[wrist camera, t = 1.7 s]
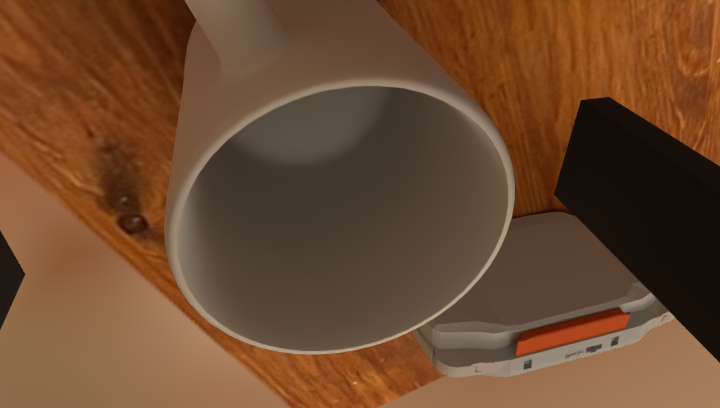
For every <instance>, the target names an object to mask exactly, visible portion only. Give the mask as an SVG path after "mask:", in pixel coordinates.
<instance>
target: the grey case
mask: <svg viewBox="0 0 720 408" xmlns="http://www.w3.org/2000/svg"><path fill="white" fill-rule="evenodd" d="M674 318H675V317H674V316H673V315H672V314H671V313H670V312H669V311H668V310H667V309H666V308H665V307H664V306H663V305H662V304H661V302H660V301H659V300H658V299H657V298H656V297H655V296H654V295H653V294H652V293H651V292H650V291H649V290H648V289H647V288H646V287H645V286H644V285H643V284H642V283H641V282H640V281H639V280H638V279H637V278H636V277H635V276H634V275H633V274H632V273H631V272H630V271H629V270H628V269H627V268H626V267H625V266H624V265H623V264H622V263H621V262H620V261H619V260H618V259H617V258H616V257H615V256H614V255H613V254H612V253H611V252H610V251H609V250H608V249H607V248H606V247H605V246H604V245H603V244H602V243H601V242H600V241H599V240H598V238H597V237H596V236H595V235H594V234H593V233H592V232H591V231H590V230H589V229H588V228H587V227H586V226H585V225H584V224H583V223H582V222H581V221H580V220H579V219H578V218H577V217H576V216H573V215H569V214H567V213H564V212H549V213H541V214H535V215H529V216H523V217H518V218H513V219H511V221H510V224H509V228H508V231H507V234H506V236H505V238H504V241H503V243H502V245H501V247H500V249H499V251H498V253H497V255H496V256H495V258H494V260H493V261H492V263H491V264H490V266H489V267H488V269H487V270H486V271H485V272H484V274H483V275H482V276H481V278H480V279H479V280H478V281H477V282H476V283H475V284H474V285H473V286H472V288H471V289H470V290H469V291H468V292H467V293H466V294H465V295H463V296H462V297H461V298H460V299H459V300H458V301H457V302H456V303H454V304H453V305H452V306H451V307H449V308H448V309H447V310H445V311H444V312H442V313H441V314H440V315H438V316H437V317H435V318H433V319H432V320H430V321H429V322H427V323H425V324H424V325H422V326H420V327H418V328H416V329H414V330H412V331H411V332H412V334H413V336H414V337H415V339H416V340H417V342H418V343H419V345H420V346H421V348H422V349H423V351H424V352H425V354H426V355H427V357H428V358H429V360H430V361H432V363H433V364H434V366H435V367H436V369H437V370H438V371H439V372H440V373H442V374H443V375H446V376H449V377H465V376H473V375H478V374H481V375H489V376H503V377H510V376H514V375H518V374H522V373H525V372H529V371H533V370H536V369H541V368H544V367H548V366H552V365H555V364H559V363H563V362H567V361H571V360H574V359H578V358H582V357H586V356H589V355H593V354H597V353H601V352H604V351H608V350H611V349H615V348H619V347H623V346H627V345H630V344H633V343H636V342H638V341H639V340H640V339H641V338H642V336H644V335H645V333H646V332H647V331H648V330H649V329H650V328H653V327H656V326H659V325H661V324H664V323H666V322H668V321H670V320H672V319H674Z"/></svg>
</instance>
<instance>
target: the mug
mask: <svg viewBox="0 0 720 408" xmlns="http://www.w3.org/2000/svg"><path fill="white" fill-rule="evenodd" d="M185 2H186V4H187V5H188V7H189V9H190V10H191V12H192V14H193V15H194V17H195V18H196V22H195V24H194V27H193V29H192V31H191V35H190V38H189V42H188V45H187V51H186V59H185V67H184V81H183V90H182V97H181V104H180V111H179V118H178V124H177V131H176V138H175V145H174V152H173V159H172V166H171V173H170V179H169V186H168V194H167V201H166V209H165V218H164V229H165V248H166V252H167V257H168V261H169V266H170V268H171V271H172V273H173V275H174V278H175V280H176V282H177V285H178V287H179V288H180V290H181V291H182V293H183V294H184V296H185V297H186V299H187V301H188V302H189V303H190V304H191V305H192V306H193V307H194V308H195V310H196V311H197V312H198V313H199V314H200V315H201V316H203V317H204V318H205V319H206V320H207V321H209V322H210V323H211V324H212V325H214V326H215V327H217V328H218V329H220V330H222V331H223V332H225V333H227V334H228V335H230V336H232V337H234V338H237V339H239V340H241V341H243V342H245V343H248V344H251V345H255V346H258V347H261V348H264V349H269V350H274V351H279V352H286V353H295V354H328V353H339V352H345V351H352V350H357V349H361V348H365V347H369V346H373V345H376V344H379V343H383V342H386V341H389V340H391V339H394V338H396V337H399V336H401V335H403V334H406V333H408V332H410V331H412V330H414V329H416V328H418V327H420V326H422V325H424V324H425V323H427V322H429V321H430V320H432V319H433V318H435V317H437V316H438V315H440V314H441V313H442V312H444V311H445V310H447V309H448V308H449V307H451V306H452V305H453V304H454V303H456V302H457V301H458V300H459V299H460V298H461V297H462V296H463V295H465V294H466V293H467V292H468V291H469V290H470V289H471V288H472V286H473V285H474V284H475V283H476V282H477V281H478V280H479V279H480V278H481V276H482V275H483V274H484V272H485V271H486V270H487V269H488V267H489V266H490V264H491V263H492V261H493V260H494V258H495V256H496V255H497V253H498V251H499V249H500V247H501V245H502V243H503V241H504V238H505V236H506V234H507V231H508V228H509V224H510V221H511V218H512V213H513V207H514V201H515V179H514V172H513V166H512V162H511V159H510V156H509V153H508V150H507V147H506V144H505V142H504V140H503V138H502V137H501V135H500V133H499V131H498V129H497V127H496V126H495V124H494V123H493V122H492V121H491V119H490V118H489V117H488V115H487V114H486V113H485V112H484V110H483V109H482V108H481V107H480V106H479V105H478V103H477V102H476V101H475V100H474V99H473V98H472V97H471V96H470V95H469V94H468V93H467V92H466V91H465V90H464V89H463V88H462V87H461V86H460V85H459V84H458V83H457V82H456V81H455V80H454V79H453V78H452V77H451V76H450V75H449V74H448V73H447V72H446V71H445V70H444V69H443V68H442V67H441V66H440V65H439V64H438V63H437V62H436V61H435V60H434V59H433V58H432V57H431V56H430V55H429V54H428V53H427V52H426V51H425V50H424V49H423V48H422V47H421V46H420V45H419V44H418V43H417V42H416V41H415V40H414V39H413V38H412V37H411V36H410V35H409V34H408V33H407V32H406V31H405V30H404V29H403V28H402V27H401V26H400V25H399V24H398V23H397V22H396V21H395V20H394V19H393V18H392V17H391V16H390V15H389V14H388V13H387V12H386V11H385V10H384V9H383V8H382V6H381V5H380V4H379V3H378V2H377V1H376V0H185Z"/></svg>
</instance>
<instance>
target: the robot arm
mask: <svg viewBox="0 0 720 408" xmlns="http://www.w3.org/2000/svg"><path fill="white" fill-rule="evenodd" d="M554 195H555V196H556V197H557V198H558V199H559V200H560V201H561V202H562V203H563V204H564V205H565V206H566V207H567V208H568V209H569V210H570V211H571V212H572V213H573V214H574V215H575V216H576V217H577V218H578V219H579V220H580V221H581V222H582V223H583V224H584V225H585V226H586V227H587V228H588V229H589V230H590V231H591V232H592V233H593V234H594V235H595V236H596V237H597V238H598V240H599V241H600V242H601V243H602V244H603V245H604V246H605V247H606V248H607V249H608V250H609V251H610V252H611V253H612V254H613V255H614V256H615V257H616V258H617V259H618V260H619V261H620V262H621V263H622V264H623V265H624V266H625V267H626V268H627V269H628V270H629V271H630V272H631V273H632V274H633V275H634V276H635V277H636V278H637V279H638V280H639V281H640V282H641V283H642V284H643V285H644V286H645V287H646V288H647V289H648V290H649V291H650V292H651V293H652V294H653V295H654V296H655V297H656V298H657V299H658V300H659V301H660V302H661V304H662V305H663V306H664V307H665V308H666V309H667V310H668V311H669V312H670V313H671V314H672V315H673V316H674V317H675V318H676V319H677V320H678V321H679V322H680V323H681V324H682V325H683V326H684V327H685V328H686V329H687V330H688V331H689V332H690V333H691V334H692V335H693V336H694V337H695V338H696V339H697V340H698V341H699V342H700V343H701V344H702V345H703V346H704V347H705V348H706V349H707V350H708V351H709V352H710V353H711V354H712V355H713V356H714V357H715V358H716V359H717V360H718V361H719V362H720V166H718V165H717V164H715V163H713V162H712V161H710V160H709V159H707V158H705V157H704V156H702V155H701V154H699V153H697V152H696V151H694V150H693V149H691V148H690V147H688V146H686V145H685V144H683V143H682V142H680V141H678V140H677V139H675V138H674V137H672V136H670V135H669V134H667V133H666V132H664V131H662V130H661V129H659V128H658V127H656V126H654V125H653V124H651V123H650V122H648V121H646V120H645V119H643V118H642V117H640V116H638V115H637V114H635V113H634V112H632V111H630V110H629V109H627V108H626V107H624V106H622V105H621V104H619V103H618V102H616V101H614V100H613V99H611V98H610V97H605V98H596V99H587V100H581V102H580V106H579V109H578V112H577V116H576V119H575V123H574V126H573V130H572V133H571V137H570V140H569V144H568V147H567V151H566V154H565V158H564V161H563V164H562V168H561V171H560V175H559V178H558V182H557V185H556V189H555V192H554ZM24 276H25V273H24V272H23V269H22V268H21V266H20V264H19V263H18V261H17V259H16V257H15V256H14V254H13V252H12V250H11V248H10V247H9V245H8V243H7V241H6V240H5V238H4V236H3V235H2V233H1V231H0V329H1V327H2V325H3V323H4V320H5V318H6V316H7V313H8V311H9V309H10V307H11V305H12V302H13V300H14V298H15V296H16V294H17V291H18V289H19V287H20V285H21V282H22V280H23V278H24Z"/></svg>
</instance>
